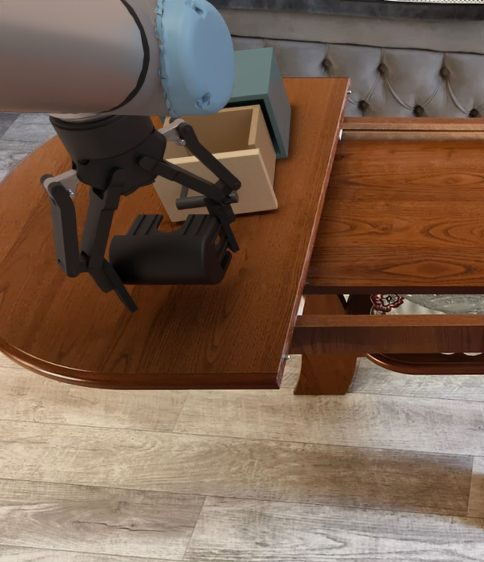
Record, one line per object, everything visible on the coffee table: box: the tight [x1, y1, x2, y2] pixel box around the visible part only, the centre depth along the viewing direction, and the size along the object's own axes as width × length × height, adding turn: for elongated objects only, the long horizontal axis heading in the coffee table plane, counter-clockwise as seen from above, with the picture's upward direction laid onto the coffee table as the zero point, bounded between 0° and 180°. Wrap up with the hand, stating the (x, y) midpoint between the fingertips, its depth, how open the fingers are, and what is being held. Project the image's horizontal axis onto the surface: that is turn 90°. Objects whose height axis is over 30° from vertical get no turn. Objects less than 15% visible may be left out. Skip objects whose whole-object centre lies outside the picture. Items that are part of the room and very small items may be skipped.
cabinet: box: [158, 46, 292, 160], centre depth 97 cm, size 13×15×11 cm
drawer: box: [151, 105, 279, 223], centre depth 87 cm, size 16×13×9 cm
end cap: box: [108, 213, 233, 286], centre depth 73 cm, size 10×7×7 cm
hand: (182, 274), depth 75 cm, fingers closed on end cap, 11 cm apart
